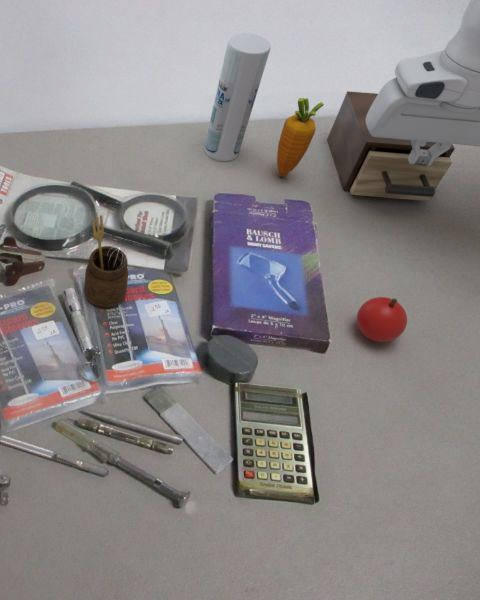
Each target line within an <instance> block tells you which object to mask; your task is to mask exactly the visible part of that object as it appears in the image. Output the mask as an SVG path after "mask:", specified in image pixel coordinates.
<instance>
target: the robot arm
mask: <svg viewBox="0 0 480 600" xmlns="http://www.w3.org/2000/svg"><path fill="white" fill-rule="evenodd" d="M394 74H395V75H394V76H395V77H394V78H391V79H390V80H388V81H387V82H386V83H385V84H384V85H383V86H382V87H381V88H380V90H379V92H377V94H378V95H377V97H376V98H375V100H374V102H373V104H372V105H371V107H370V109H369V111H368V113H367V116H366V125H367V128H368V130H369V132H370V134H371V135H372V136H373V137H380V138H391V139H402V140H411V144H412V151H411V153H410V155H409V157H408V161H409V163H410V164H414V165H426V166H430V165H431V164H432V162H433V161H434V159H435V158H436V157H438V156H439V155H441V154H443V153H444V152H446V151H447V150H449V149H450V147H451V146H452V144H453V145H458V146H459V145H460V146H473V147H480V0H470V1H469V3H468V4H467V6H466V9H465V10H464V12H463V15H462V18H461V23H460V25H459V28H458V30H457V32H456V33H455V35H453V37H452V38H451V39H450V40H449V41H448V43H447V44H446V46H445V48H444V50H439V51H435V52H432V53H428V54H424V55H418V56H414V57H409V58H404V59H401V60H400V61H398V62H397V64H396V66H395V68H394ZM427 142H437V143H436V144H434V145H433V146H432V147H431V148H429V149H428V150H422V149H420V146H422V147H424V146H425V144H426V143H427Z"/></svg>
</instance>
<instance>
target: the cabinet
mask: <svg viewBox="0 0 480 600" xmlns="http://www.w3.org/2000/svg"><path fill="white" fill-rule="evenodd" d="M377 95H378V93H373V92H362V91H361V92H360V91H348V90H347V91H346V93H345V96H344V98H343V101H342V103H341V106H340V107H339V110H338V113H337V115H336V117H335V119H334V121H333V124H332V127H331V129H330V132H329V134H328V136H327V138H326V140H327V143H328V146H329V150H330V152H331V155H332V159H333V162H334V166H335V169H336V172H337V176H338V179H339V183H340V185H341V188H342V191H345V192H347V191H349V192H351V191H350V189H351V187H352V185H353V183H354V182H353V180H354V178H355V176H356V174H357V172H358V169H359V167H360V165H361V163H362V161H363V159H364V157H365V155H366V153H367V151H368V149H369V147H378V148H391V149H403V150H412V144H411V140H402V139H391V138H380V137H373V136H372V135H371V134H370V132H369V130H368V128H367V125H366V116H367V113H368V111H369V109H370V107H371V105H372V104H373V102H374V100H375V98H376V97H377ZM436 143H437V142H427V143H426V144H425V146H424V147H422V146H420V149H422V150H428V149H429V148H431V147H432V146H433V145H434V144H436ZM455 150H456V148H455V146H454V144H452V146H451V147H450V149H449V150H447V151H446V152H444V153H443V154H441V155H440V156H439V157H448V158H450V159H451V156H452V155H453V153H454V151H455Z"/></svg>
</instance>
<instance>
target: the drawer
mask: <svg viewBox="0 0 480 600" xmlns="http://www.w3.org/2000/svg"><path fill="white" fill-rule="evenodd" d="M411 151H412V150H403V149H391V148H378V147H369V149H368V151H367V153H366V155H365V157H364V159H363V161H362V163H361V165H360V167H359V169H358V172H357V174H356V176H355V178H354V180H353V182H354V183H353V185H352V187H351V189H350V191H349V192H350V195H352V196H363V197H364V196H365V197H374V198H375V197H377V198H388V199H400V200H412V201H413V200H414V201H423V202H428V201H429V200H430V198H433V197H434V196H435V194H436V189H437V187H438V186H439V184H440V182H441V181H442V179H443V178H444V176H445V174H446V173H447V171H448V170H449V168H450V167H451V166H452V164H453V161H452V158H451V157H450V158H448V157H439V156H440V155H439V156H438V157H436V158H435V159H434V161H433V162H432V164H431V165H430V166H426V165H414V164H410V163H409V161H408V157H409V155H410V153H411Z"/></svg>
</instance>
